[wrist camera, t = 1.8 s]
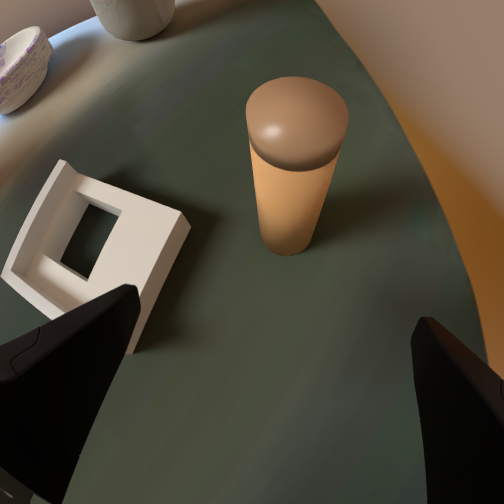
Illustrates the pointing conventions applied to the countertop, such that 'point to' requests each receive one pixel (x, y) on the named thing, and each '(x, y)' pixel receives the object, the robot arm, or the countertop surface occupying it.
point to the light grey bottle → (134, 17)
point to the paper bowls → (22, 67)
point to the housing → (111, 257)
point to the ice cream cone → (293, 156)
